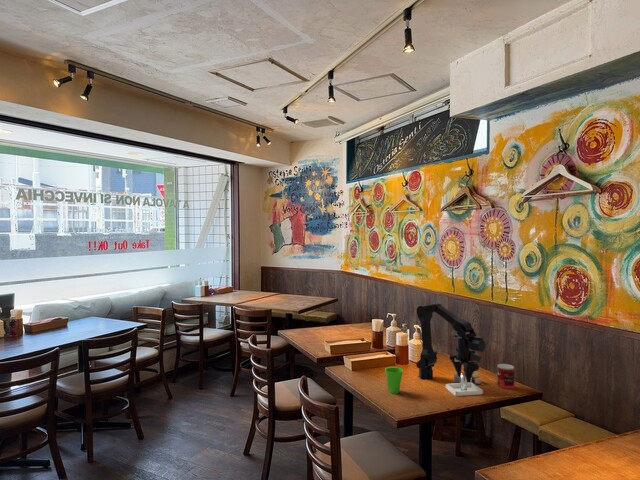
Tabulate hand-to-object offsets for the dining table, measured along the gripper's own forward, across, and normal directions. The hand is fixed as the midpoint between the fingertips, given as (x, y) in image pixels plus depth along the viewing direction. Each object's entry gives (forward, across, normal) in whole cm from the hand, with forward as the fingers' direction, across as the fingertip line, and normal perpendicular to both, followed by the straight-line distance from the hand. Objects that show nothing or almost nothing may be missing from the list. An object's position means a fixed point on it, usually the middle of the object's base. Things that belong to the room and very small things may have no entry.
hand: (463, 378), depth 202 cm
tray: (+6, 0, 0) cm, 6 cm away
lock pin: (+6, 0, 0) cm, 6 cm away
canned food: (+7, +2, -24) cm, 25 cm away
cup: (+7, +5, +34) cm, 35 cm away
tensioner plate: (+6, +11, -8) cm, 15 cm away
